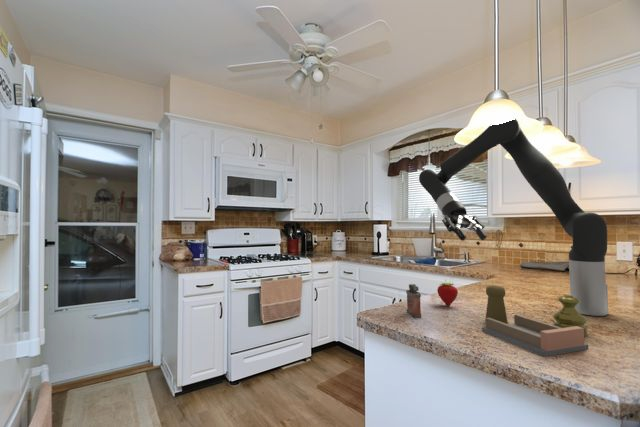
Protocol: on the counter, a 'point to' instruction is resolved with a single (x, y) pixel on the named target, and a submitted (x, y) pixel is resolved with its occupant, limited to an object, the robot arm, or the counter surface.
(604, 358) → the counter surface
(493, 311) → the cork
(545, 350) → the guide track
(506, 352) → the counter surface
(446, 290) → the strawberry
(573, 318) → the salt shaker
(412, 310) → the lighter
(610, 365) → the counter surface
